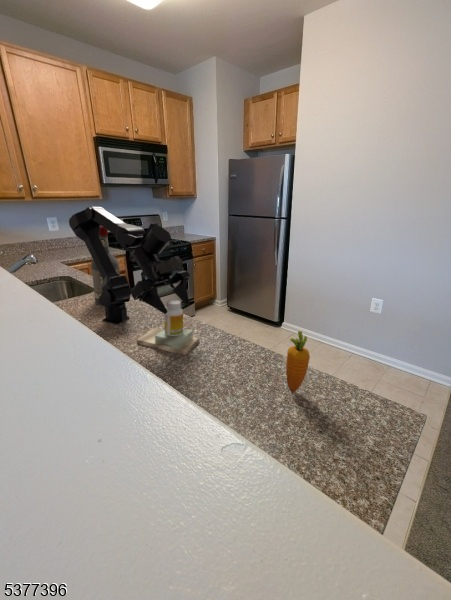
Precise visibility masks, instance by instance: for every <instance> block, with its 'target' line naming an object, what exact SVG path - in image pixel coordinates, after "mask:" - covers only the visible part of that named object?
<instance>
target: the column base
mask: <svg viewBox="0 0 451 600" xmlns="http://www.w3.org/2000/svg"><path fill="white" fill-rule="evenodd" d="M193 332H194V331H193V329H188V328H184V327H183V333H182V334H181V335H179V336H168V335H166V334H165V328H164V329H160V328H157V327H155V328H153V329H151V330H149V331H148V332H146V333H144V334H143V335H141V336H140V337H139V338H137V339H136V344H138V345H141V346H147V347H150V348H154V349H159V350H162V351H166V352H169V353H170V352H172V353H175V354H178V355H179V354H180V355H183V356H186V355H187V354H188V353H189V352H190V351H191V350H193V348H194V347H196V345H198V343H200V337H195V336H194V335H193Z"/></svg>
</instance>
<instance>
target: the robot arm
mask: <svg viewBox="0 0 451 600" xmlns="http://www.w3.org/2000/svg"><path fill="white" fill-rule="evenodd" d="M68 225H69V227H70V228H71V230H72V232H73V233H74V235H75V237H76V238H78V239H80V240H81V241H83V242H84V243H85V246H86V248H87V250H88V252H89V254H90V256H91V258H92V260H94V262H95V264H96V266H97V269H98V271H99V273H100V275H101V277H102V279H103V282H102V291H103V293H102V294H101V296H100V297H99V303H100V305H102V307H104V311H105V318H103V319H102V321H103V322H105V323H111V324H113V325H114V324H115V325H119V324H121V323H122V322H125V321H127V320H128V319H130V316H129V315H128V309H127V306H126V303H129V302H130V301H131V300H130V299H131V297H132V298H133V300H134V301H137V300H138V301H139V302H143V303H145V304H147V305H149V306H151V307H153V308H154V309H155V310H157V311H159V312H160V313H162V314H166V313H167V310H166V308H167V307H166V306H165V304H164V302H163V301H162V299H161V297H160V296H159V294H158V289H161V288H165V287H168V286H170V287H171V288H172V292H173V293H174V294H175V295H176V296H177V297H178V298H179V299H180V301H181V302H183V303H184V304H185V305H186V306H189V305H190V304H191V302H190V299H189V293H188V288H187V283H188V282H189V281H190V278H191V275H190V273H189V272H188V271H187V270H181V268H182V267H183V265H184V264H183V260H182V259H181V258H180V256H179V255H175V256H174V257H173V256H172V257H171V258H170V259H167V260H163V259H161V260H160V259H159V258H158V257H157V255H159V254H161V253H162V252H163V250H165V248H166V247H167V245H168V244H169V243H170V242H171V239H172V236H171V234H170V232H169V231H167V229H165V228H164V227H162V226H161V225H158V223H157V222H153V223H150V224H149V226H148V228H147V230H145V229H144V228H143V227H140V226H138V225H134V224H129V223H126V222H124V221H123V220H121V219H120V218H118V217H116V216H115V215H113V214H112V213H110V212H109V211H107V210H106V209H105V208H104V207H102V206H92V205H91V206H88V207H86V208H85V209H84V210H81V211H78V212H75V213H73V214H72V215H71V217H70V218H69V219H68ZM100 226H102V227H104V228H105V229H107V230H108V232H110V233H111V234H112V235H114V237H115V240H116V242H118V244H119V245H120V246H121V247H123V248H124V249H132V248H135V249H134V250H132V251H130V255H129V261H130V262H134V261H135V262H136V263H137V265H138V267H139V268H140V270H141V273H140V275H141V277H145V278H146V279H143V280H139V281H137V282H136V283H135V285H134V286H133V287H131V284H130V283H129V280H128V278H127V277H126V275H125V274H120V273H119V274H117V272H116V270H115V268H114V266H113V264H112V262H111V260H110V258H109V256H108V254H107V252H106V250H105V248H104V246H103V244H102V242H101V240H100V238H99V232H100ZM179 270H181V271H179ZM175 271H176V273H174V272H175ZM173 274H174V275H173ZM100 305H99V306H100Z"/></svg>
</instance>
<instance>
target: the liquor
mask: <svg viewBox="0 0 451 600" xmlns="http://www.w3.org/2000/svg"><path fill="white" fill-rule="evenodd" d="M108 235H109V231H108V230H107V229H105V228H104V227H102V226H101V225H100V232H99V238H100V240H101V242H102V244H103V246H104V248H105V250H106V252H107V254H108V256H109V258H110V260H111V262H112V264H113V266H114V268H115V270H116V272H117V274H119V275H120V264H119V260H118V259H117V258H116V256H114V254H112V252H111V251H110V248H109V240H108V239H109V238H108ZM92 260H93V259H92ZM90 266H91V275H92V282H93V284H92V285H93V294H94V302H95V303H94V304H96V305H97V306H100V307H101V306H102V305H100V303H99V297H100V296H101V294H102V293H103V291H102V282H103V279H102V277H101V275H100V273H99V271H98V269H97V266H96V264H95V262H94V260H93V261H92V262H91V265H90ZM102 307H103V306H102Z"/></svg>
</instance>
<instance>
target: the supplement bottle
mask: <svg viewBox="0 0 451 600" xmlns="http://www.w3.org/2000/svg"><path fill="white" fill-rule="evenodd" d="M165 308H166V310H167V313H166V314H164V313H163V314H164V319H163V320H164V321H163V322H164V329H165V334H166V335H168V336H179V335H181V334H182V333H183V328H184V310H183V308H182V300H178V299H169V300H167V301H166V307H165Z"/></svg>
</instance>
